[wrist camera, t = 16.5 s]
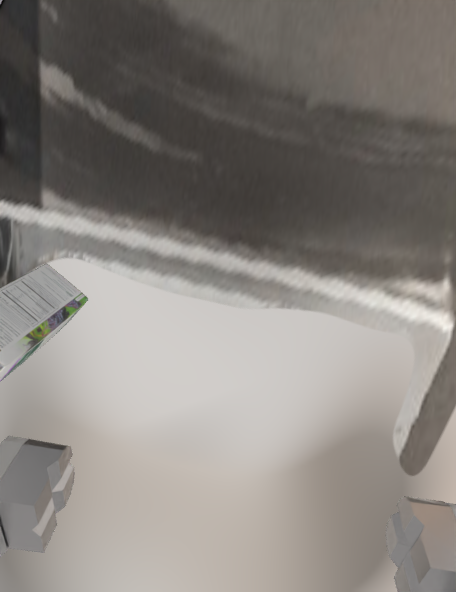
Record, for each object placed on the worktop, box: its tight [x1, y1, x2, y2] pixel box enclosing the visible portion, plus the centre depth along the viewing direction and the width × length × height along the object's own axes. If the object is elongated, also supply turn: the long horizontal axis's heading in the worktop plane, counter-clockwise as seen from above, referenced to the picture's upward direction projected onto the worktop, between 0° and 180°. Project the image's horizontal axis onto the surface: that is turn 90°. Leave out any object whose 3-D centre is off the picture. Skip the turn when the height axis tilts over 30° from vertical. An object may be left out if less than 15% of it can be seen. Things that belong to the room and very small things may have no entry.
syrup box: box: [0, 264, 88, 381], centre depth 38 cm, size 6×6×14 cm
